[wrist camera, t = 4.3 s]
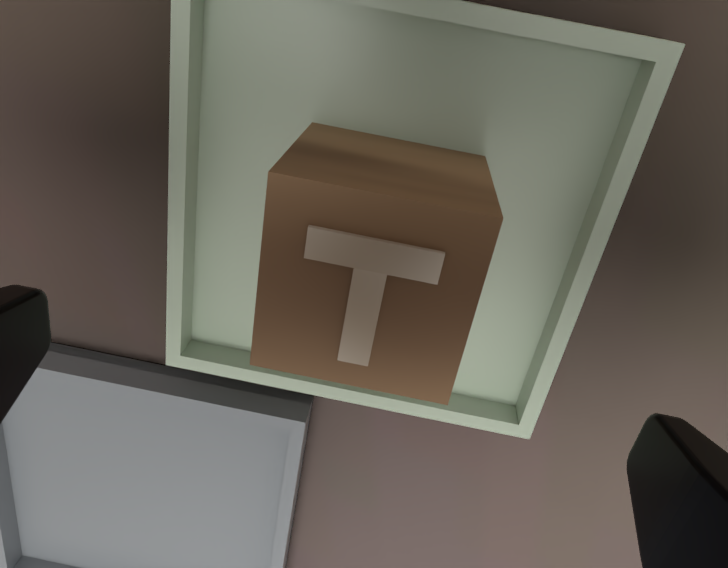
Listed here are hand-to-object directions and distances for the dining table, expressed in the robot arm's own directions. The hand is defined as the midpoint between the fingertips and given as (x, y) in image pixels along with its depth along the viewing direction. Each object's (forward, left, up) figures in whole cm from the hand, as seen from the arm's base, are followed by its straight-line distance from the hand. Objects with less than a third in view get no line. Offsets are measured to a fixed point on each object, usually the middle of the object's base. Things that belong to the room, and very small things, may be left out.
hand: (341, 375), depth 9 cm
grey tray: (-11, +6, -7) cm, 14 cm away
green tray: (0, 0, -7) cm, 7 cm away
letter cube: (0, 0, -6) cm, 6 cm away
